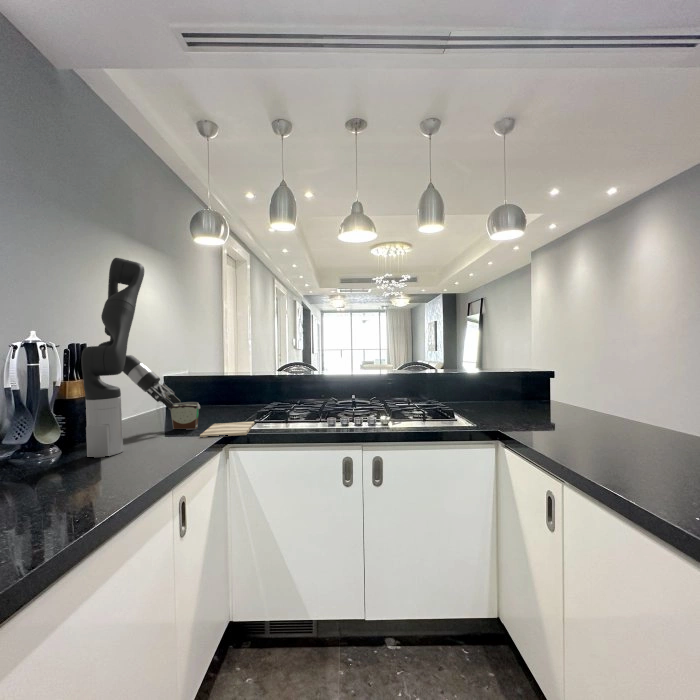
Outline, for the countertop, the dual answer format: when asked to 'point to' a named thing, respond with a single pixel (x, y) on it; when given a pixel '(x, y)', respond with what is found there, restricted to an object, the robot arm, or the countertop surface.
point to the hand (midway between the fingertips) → (175, 404)
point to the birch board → (228, 429)
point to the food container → (185, 415)
